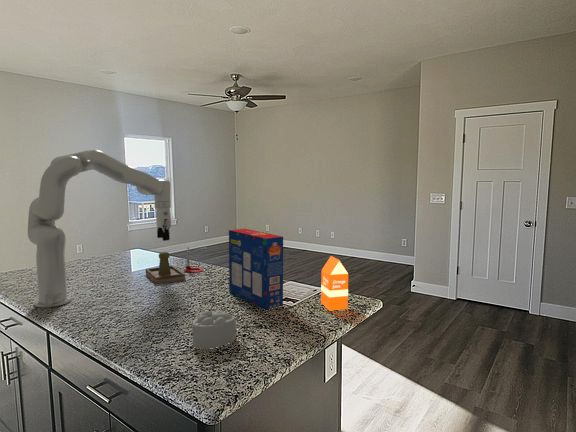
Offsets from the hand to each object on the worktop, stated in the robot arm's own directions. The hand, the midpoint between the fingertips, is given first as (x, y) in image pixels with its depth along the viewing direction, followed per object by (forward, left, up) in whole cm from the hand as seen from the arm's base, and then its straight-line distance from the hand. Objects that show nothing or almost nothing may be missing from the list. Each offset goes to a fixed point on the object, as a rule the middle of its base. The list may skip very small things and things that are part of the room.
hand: (163, 239), depth 184 cm
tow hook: (+5, -17, -20) cm, 27 cm away
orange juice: (-80, -43, -20) cm, 93 cm away
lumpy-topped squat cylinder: (-82, +8, -20) cm, 85 cm away
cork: (0, 0, -18) cm, 18 cm away
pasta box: (-54, -22, -20) cm, 62 cm away
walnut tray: (0, 0, -20) cm, 20 cm away
